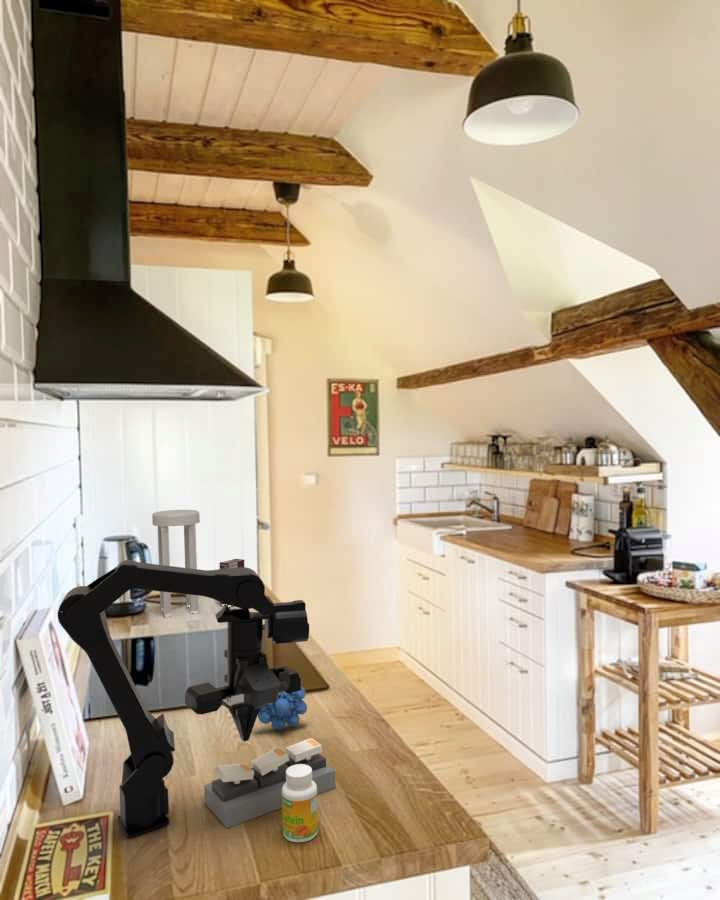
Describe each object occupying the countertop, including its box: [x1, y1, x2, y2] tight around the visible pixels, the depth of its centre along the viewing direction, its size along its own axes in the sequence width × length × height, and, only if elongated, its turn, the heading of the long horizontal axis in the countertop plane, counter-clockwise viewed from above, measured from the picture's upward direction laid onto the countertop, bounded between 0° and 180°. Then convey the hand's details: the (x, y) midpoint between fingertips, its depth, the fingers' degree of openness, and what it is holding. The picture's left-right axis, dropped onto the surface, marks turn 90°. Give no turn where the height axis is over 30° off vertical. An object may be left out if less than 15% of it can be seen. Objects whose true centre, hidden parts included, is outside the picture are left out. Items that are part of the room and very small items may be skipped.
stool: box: [151, 509, 201, 615], centre depth 238 cm, size 16×16×35 cm
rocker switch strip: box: [203, 753, 337, 829], centre depth 115 cm, size 20×9×4 cm, turn 124°
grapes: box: [257, 686, 308, 731], centre depth 140 cm, size 12×7×12 cm, turn 109°
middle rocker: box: [250, 745, 289, 776], centre depth 115 cm, size 5×4×2 cm
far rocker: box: [285, 737, 323, 762], centre depth 119 cm, size 5×4×2 cm
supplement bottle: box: [281, 764, 319, 843], centre depth 104 cm, size 5×5×10 cm
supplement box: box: [219, 558, 245, 605], centre depth 246 cm, size 9×5×16 cm, turn 147°
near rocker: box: [214, 762, 254, 784], centre depth 111 cm, size 5×4×2 cm
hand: (245, 740), depth 112 cm, fingers closed
